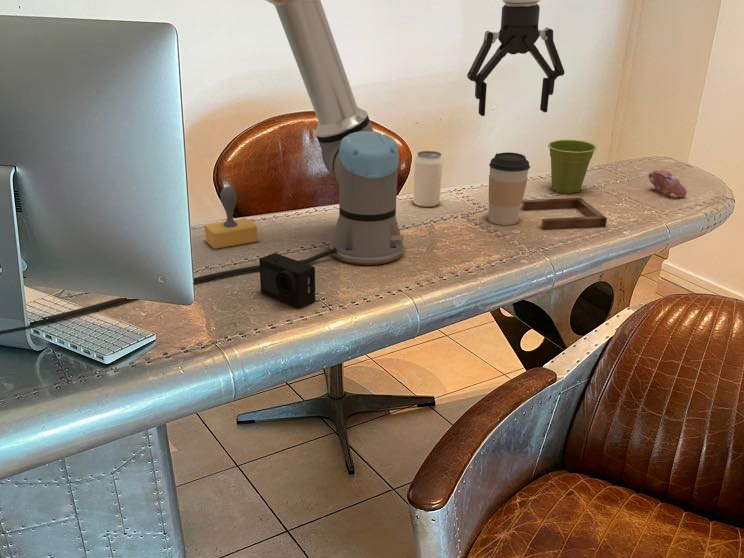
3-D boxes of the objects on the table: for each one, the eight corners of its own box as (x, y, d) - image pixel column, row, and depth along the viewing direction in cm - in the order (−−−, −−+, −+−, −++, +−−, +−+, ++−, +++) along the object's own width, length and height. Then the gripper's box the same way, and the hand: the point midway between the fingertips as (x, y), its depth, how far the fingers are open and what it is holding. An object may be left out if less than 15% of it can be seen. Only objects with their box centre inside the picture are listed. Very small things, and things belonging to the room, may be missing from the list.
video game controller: (648, 193, 210) (643, 170, 206) (664, 184, 210) (658, 161, 206) (673, 205, 202) (668, 181, 198) (689, 195, 202) (684, 171, 198)
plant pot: (538, 182, 213) (544, 139, 207) (583, 183, 212) (590, 139, 206) (546, 196, 203) (552, 151, 197) (594, 197, 202) (602, 152, 196)
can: (444, 205, 196) (447, 155, 190) (420, 208, 194) (423, 158, 188) (431, 198, 202) (435, 149, 195) (408, 201, 200) (411, 151, 193)
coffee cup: (520, 214, 191) (529, 149, 183) (524, 227, 184) (533, 160, 176) (482, 212, 192) (489, 148, 184) (484, 225, 184) (491, 159, 177)
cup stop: (543, 229, 182) (544, 220, 181) (521, 208, 195) (522, 200, 194) (605, 226, 184) (607, 218, 183) (579, 205, 197) (581, 197, 196)
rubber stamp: (214, 249, 172) (210, 193, 165) (205, 240, 176) (200, 186, 170) (258, 242, 175) (255, 187, 169) (247, 233, 180) (244, 180, 173)
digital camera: (255, 294, 152) (253, 259, 148) (276, 286, 155) (274, 251, 152) (294, 311, 146) (293, 274, 142) (315, 301, 149) (315, 266, 146)
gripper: (575, -2, 167) (563, 105, 179) (456, 5, 166) (452, 112, 178) (588, 2, 161) (575, 113, 172) (464, 9, 160) (459, 120, 171)
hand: (512, 112), depth 175 cm, fingers open, 13 cm apart
